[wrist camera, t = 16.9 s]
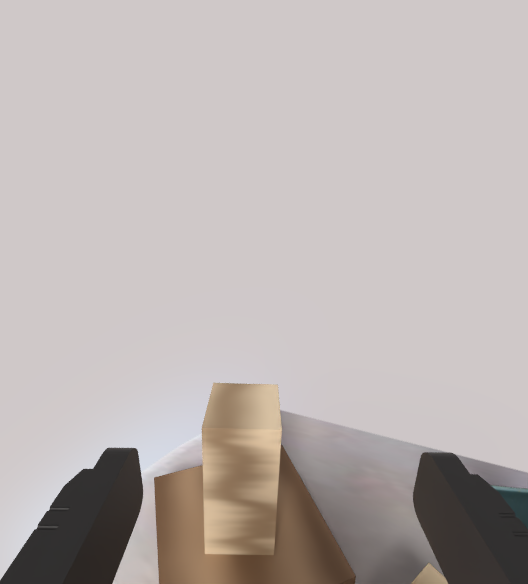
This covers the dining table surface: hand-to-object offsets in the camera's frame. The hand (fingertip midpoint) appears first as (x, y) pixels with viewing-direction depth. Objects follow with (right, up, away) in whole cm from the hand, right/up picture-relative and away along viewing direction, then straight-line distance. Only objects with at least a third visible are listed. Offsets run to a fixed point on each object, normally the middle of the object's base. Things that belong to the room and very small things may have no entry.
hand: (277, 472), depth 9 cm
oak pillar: (-2, -15, +19) cm, 24 cm away
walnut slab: (-3, -18, +20) cm, 27 cm away
